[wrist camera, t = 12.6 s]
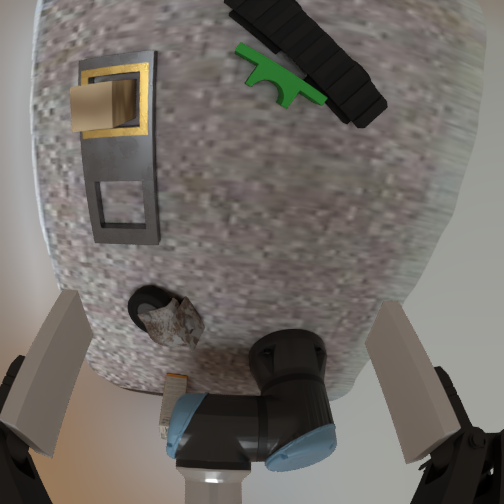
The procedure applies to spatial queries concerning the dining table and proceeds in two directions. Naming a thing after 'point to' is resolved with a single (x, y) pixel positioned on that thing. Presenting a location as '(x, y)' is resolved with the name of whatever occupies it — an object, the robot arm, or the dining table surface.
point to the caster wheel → (165, 318)
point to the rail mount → (312, 56)
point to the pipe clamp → (278, 78)
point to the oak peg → (102, 104)
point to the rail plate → (123, 151)
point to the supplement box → (170, 400)
